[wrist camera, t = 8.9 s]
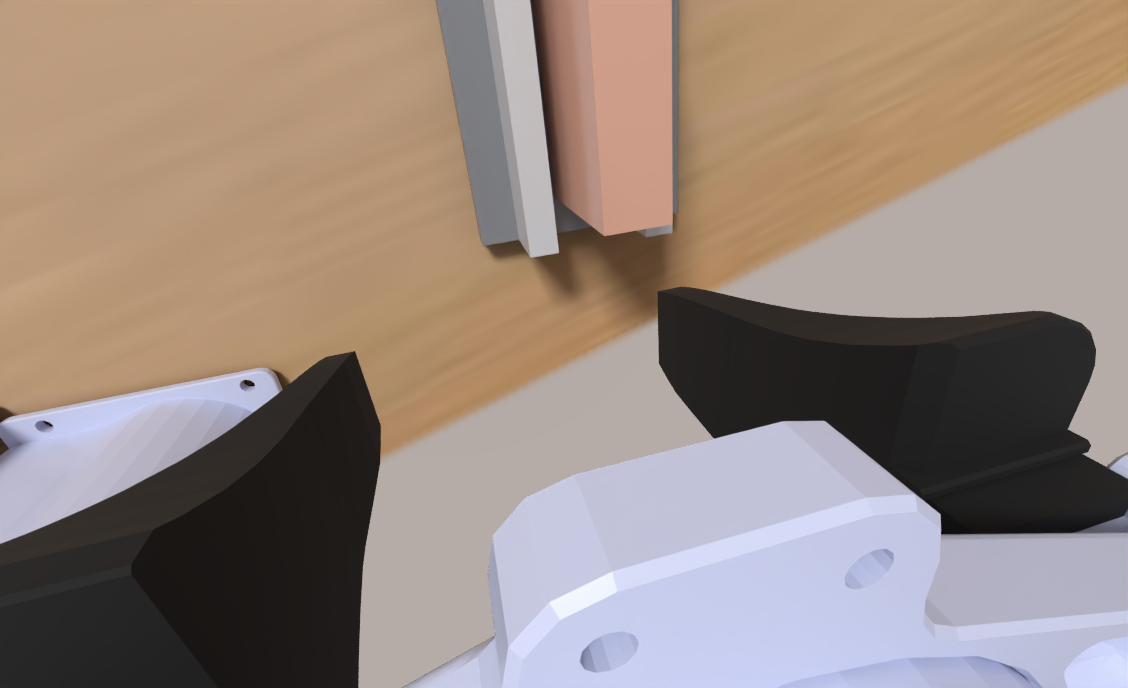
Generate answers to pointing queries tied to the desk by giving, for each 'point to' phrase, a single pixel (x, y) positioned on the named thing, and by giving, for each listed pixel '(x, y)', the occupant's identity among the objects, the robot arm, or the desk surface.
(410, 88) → the desk surface
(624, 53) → the tall salmon pink block
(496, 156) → the grey slotted holder
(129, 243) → the desk surface
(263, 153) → the desk surface
